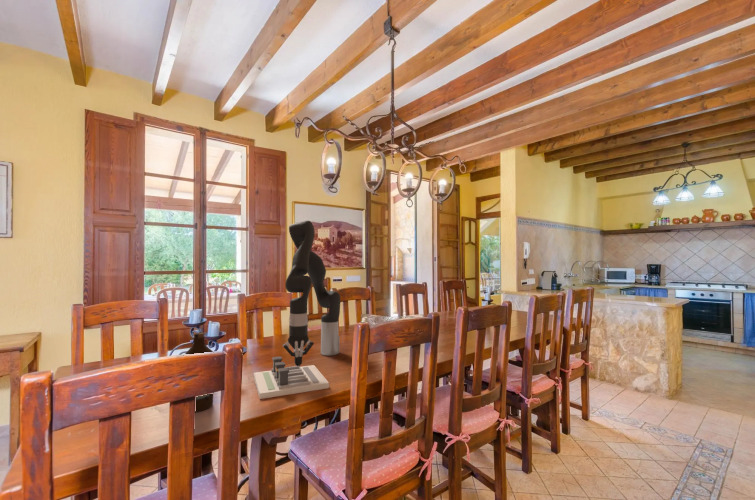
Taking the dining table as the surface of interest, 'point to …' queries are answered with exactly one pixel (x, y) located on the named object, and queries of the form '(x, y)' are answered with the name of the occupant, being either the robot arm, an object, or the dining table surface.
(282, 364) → the breaker handle
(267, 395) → the switch board
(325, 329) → the robot arm
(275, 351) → the dining table surface
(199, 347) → the olive oil
